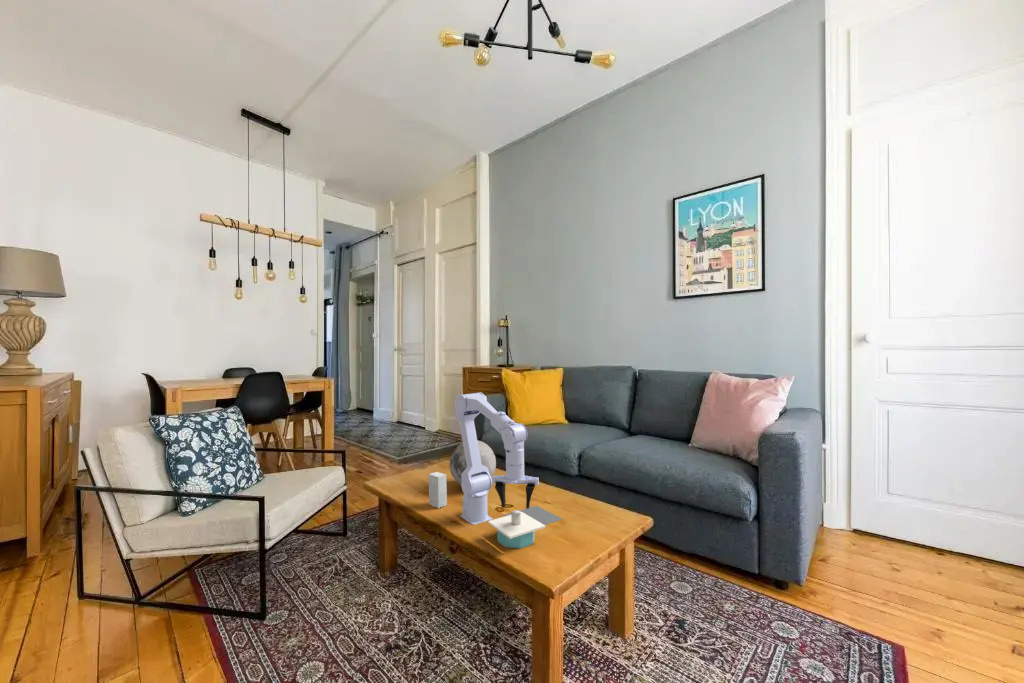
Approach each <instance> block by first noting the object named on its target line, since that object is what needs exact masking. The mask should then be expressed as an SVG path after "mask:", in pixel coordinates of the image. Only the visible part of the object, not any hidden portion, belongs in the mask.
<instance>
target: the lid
mask: <svg viewBox="0 0 1024 683" xmlns="http://www.w3.org/2000/svg"><path fill="white" fill-rule="evenodd" d="M510 513H511V515H508V516H501V517H498V518H493V519H492V520H489V521H487V524H488V525H490V526H492V528H494V529H495V530H496V531H497V530H498V531H500V532H501V533H502V534H504V535H505V536H507V537H508V538H509V539H511V538H514V537H517V536H521V535H524V534H527V533H530V532H533V531H535V532H536V531H539V530H542V529H545V528H546V525H544V524H542V523H540V522H538V521H537V520H535V519H533V518H532V517H530V516H528V515H527V514H525V513H523V512H521V511H519V510H517V509H516V510H511V512H510Z"/></svg>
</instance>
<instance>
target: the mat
mask: <svg viewBox="0 0 1024 683" xmlns="http://www.w3.org/2000/svg"><path fill="white" fill-rule="evenodd" d="M518 511H521V512H523V513H525V514H527V515H528V516H530V517H532V518H533V519H535V520H537V521H538V522H540V523H542V524H544V525H545V526H546V525H549V524H552V523H555V522H560V521H562V520H563V518H562V517H560V516H558V515H556V514H554V513H552V512H550V511H549V510H546V509H544V508H542V507H540V506H539V505H534V506H531V507H530V506H529V509H526V508H524V509H520V510H518ZM508 515H511V512H510V513H506V514H503V515H502V517H505V516H508Z"/></svg>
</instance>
